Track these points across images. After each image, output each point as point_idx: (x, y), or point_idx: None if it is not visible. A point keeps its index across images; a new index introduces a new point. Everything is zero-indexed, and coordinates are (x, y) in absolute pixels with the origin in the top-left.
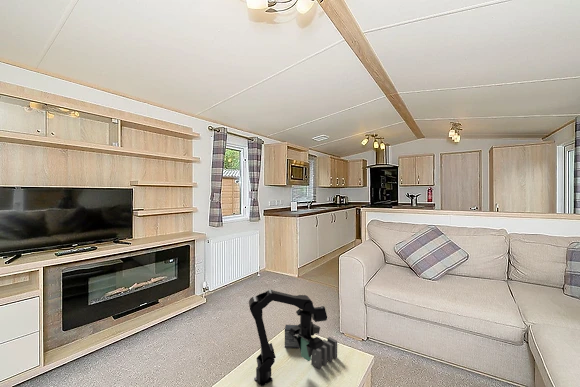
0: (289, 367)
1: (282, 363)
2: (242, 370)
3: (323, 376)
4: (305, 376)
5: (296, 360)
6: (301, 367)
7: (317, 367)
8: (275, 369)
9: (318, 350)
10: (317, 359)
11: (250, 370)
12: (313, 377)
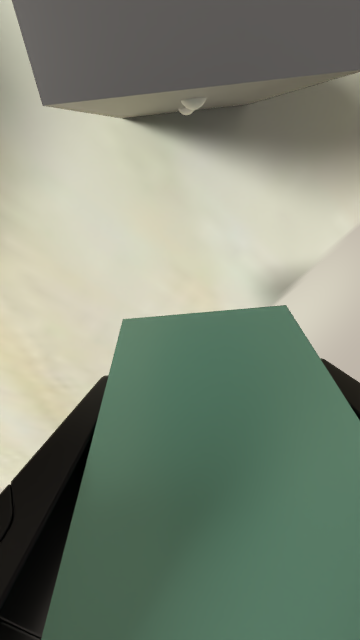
0: (73, 322)
1: (8, 338)
2: (3, 481)
3: (349, 148)
4: (226, 286)
5: (2, 226)
6: (118, 248)
7: (223, 106)
8: (55, 392)
9: (318, 31)
10: (244, 98)
11: (15, 464)
12: (281, 241)
